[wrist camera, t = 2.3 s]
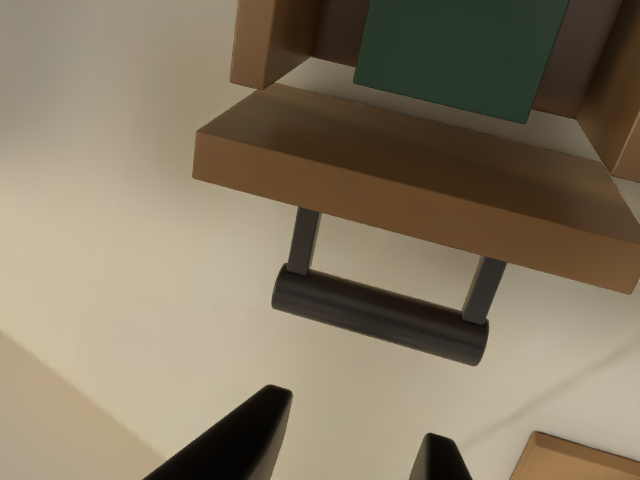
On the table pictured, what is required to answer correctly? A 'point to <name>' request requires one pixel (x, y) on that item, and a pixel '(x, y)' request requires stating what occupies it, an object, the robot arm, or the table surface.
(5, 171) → the table surface
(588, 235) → the drawer
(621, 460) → the cork pad
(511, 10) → the book
